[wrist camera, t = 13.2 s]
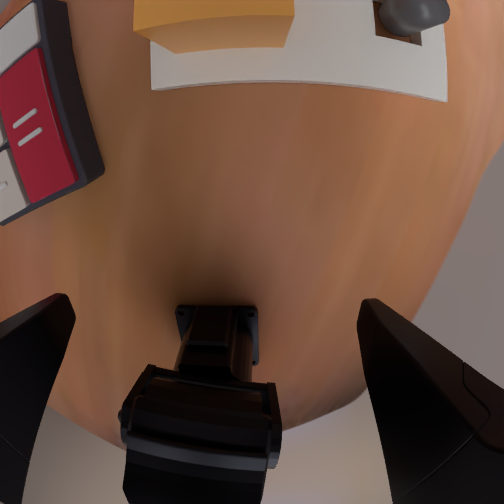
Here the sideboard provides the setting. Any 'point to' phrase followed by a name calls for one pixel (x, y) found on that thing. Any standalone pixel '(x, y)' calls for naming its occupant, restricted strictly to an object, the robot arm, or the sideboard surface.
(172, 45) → the light orange cube
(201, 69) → the panel
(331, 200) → the sideboard surface
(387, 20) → the breaker
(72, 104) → the calculator
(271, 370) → the sideboard surface
